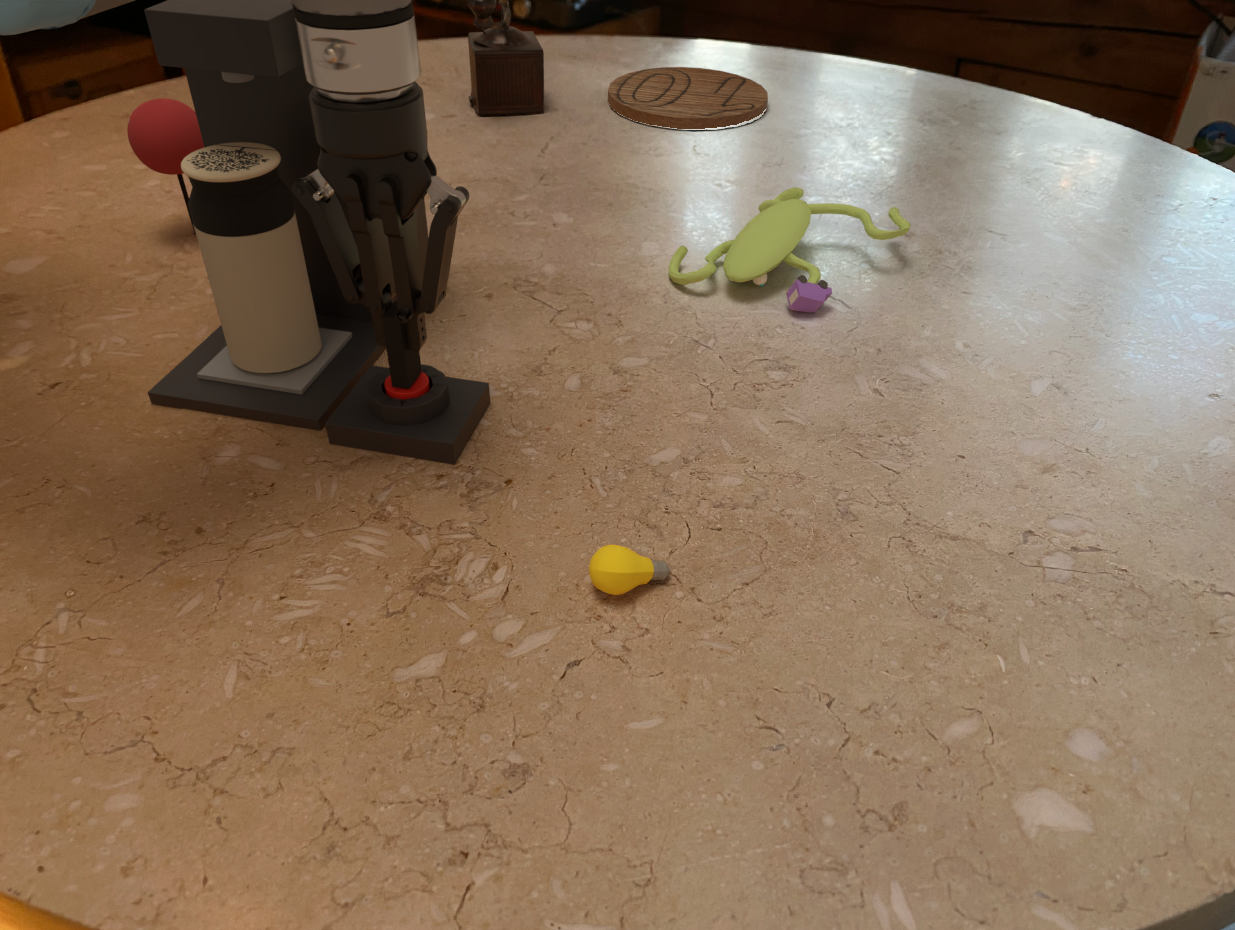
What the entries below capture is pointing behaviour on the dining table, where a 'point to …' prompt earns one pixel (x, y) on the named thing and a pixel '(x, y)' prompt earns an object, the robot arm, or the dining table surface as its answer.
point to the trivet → (687, 97)
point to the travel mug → (253, 255)
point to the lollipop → (165, 137)
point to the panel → (410, 417)
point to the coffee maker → (281, 118)
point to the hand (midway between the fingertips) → (407, 378)
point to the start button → (415, 391)
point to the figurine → (780, 247)
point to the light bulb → (623, 569)
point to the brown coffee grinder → (504, 64)
